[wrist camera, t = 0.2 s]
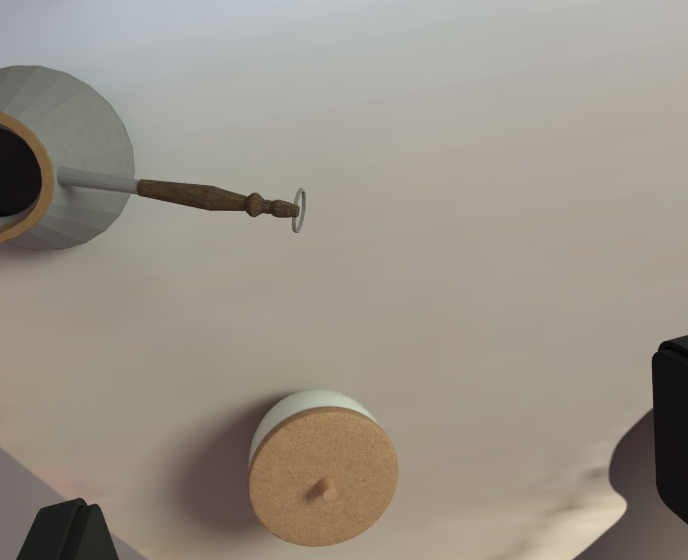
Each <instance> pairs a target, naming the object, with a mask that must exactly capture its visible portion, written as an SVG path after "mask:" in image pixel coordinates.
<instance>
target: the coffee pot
mask: <svg viewBox="0 0 688 560" xmlns="http://www.w3.org/2000/svg"><path fill="white" fill-rule="evenodd" d="M134 174H135V167H134V156H133V147H132V145H131V142H130V139H129V136H128V134H127V131H126V128H125V125H124V124H123V122H122V121H121V119H120V118H119V116H118V115H117V113H116V112H115V111H114V109H113V108H112V106H111V105H110V103H109V102H107V101H106V100H105V99H104V98H103V97H102V96H101V95H100V94H99V93H97V92H96V91H95V90H94V89H93V88H92V87H91V86H90V85H88V84H86V83H84V82H82V81H80V80H78V79H77V78H75V77H73V76H71V75H69V74H67V73H65V72H61V71H57V70H54V69H50V68H46V67H42V66H10V67H6V68H2V69H0V243H3V242H6V243H8V244H10V245H12V246H17V247H22V248H27V249H32V250H60V249H66V248H69V247H73V246H76V245H80V244H83V243H86V242H88V241H89V240H91V239H93V238H94V237H96V236H97V235H99V234H101V233H102V232H104V231H106V229H107V228H108V227H109V226H110V225H111V224H112V223H113V222H114V221H115V220H116V219H117V218H118V216H119V215H120V214H121V212H122V210H123V208H124V206H125V205H126V203H127V201H128V199H129V197H130V195H131V194H138V195H139V196H143V197H148V198H152V199H157V200H162V201H167V202H171V203H176V204H181V205H186V206H190V207H195V208H200V209H205V210H209V211H246V212H247V213H248V214H249V215H250V216H251V217H256V216H258V215H260V214H262V213H266V214H272V215H273V216H275V217H281V218H290V217H292V228H293V231H294V232H295V233H299V231H300V230H301V227H302V224H303V220H304V215H305V209H306V194H305V190H304V189H301V188H300V189H299V190H298V191H297V194H296V197H295V201H294V205H293V204H292V203H289V202H286V201H282V200H275V201H270V200H264V199H263V198H262V197H261V196H260V195H259V194H258V193H252V194H251V195H249V196H248V197H247V196H244V195H240V194H237V193H234V192H230V191H227V190H223V189H220V188H217V187H214V186H208V185H197V184H186V183H176V182H165V181H154V180H144V179H141V180H135V179H134ZM301 192H302V212H301V217H300V221H299V225H298V228H297V229H296V217H298V215H299V206H297V205H298V200H299V197H300V194H301Z"/></svg>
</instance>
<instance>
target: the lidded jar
mask: <svg viewBox="0 0 688 560" xmlns="http://www.w3.org/2000/svg"><path fill="white" fill-rule="evenodd" d="M248 471H249V472H248V494H249V499H250V503H251V507H252V509H253V511H254V513H255V515H256V517H257V518H258V520H259V521H260V522H261V524H262V525H263V526H264V527H265V528H266V529H267V530H268V531H269V532H271V533H272V534H274V535H275V536H277V537H278V538H280V539H283V540H285V541H287V542H290V543H293V544H297V545H302V546H309V547H317V546H328V545H334V544H337V543H341V542H344V541H346V540H349V539H351V538H354V537H355V536H357V535H359V534H360V533H362V532H364V531H365V530H366V529H368V528H369V527H370V526H371V525H373V524H374V523H375V522H376V521H377V520H378V519H379V517H380V516H381V515H382V514H383V512H384V511H385V510H386V508H387V507H388V505H389V503H390V502H391V500H392V498H393V495H394V492H395V490H396V486H397V481H398V461H397V456H396V453H395V450H394V447H393V445H392V443H391V442H390V440H389V438H388V436H387V435H386V433H385V432H384V431H383V430H382V428H381V427H380V425H379V423H378V422H377V420H376V419H375V418H374V417H373V416H372V414H371V413H370V412H369V411H368V410H367V409H366V408H365V407H364V406H363V405H361V404H360V403H359V402H358V401H356V400H355V399H353V398H351V397H350V396H348V395H346V394H343V393H341V392H338V391H334V390H329V389H307V390H303V391H299V392H296V393H294V394H291V395H289V396H287V397H286V398H284V399H282V400H281V401H279V402H278V403H277V404H276V405H274V406H273V407H272V408H271V409H270V410H269V412H268V413H267V414H266V415H265V416H264V418H263V419H262V420H261V422H260V423H259V425H258V428H257V430H256V432H255V434H254V437H253V440H252V444H251V448H250V454H249V463H248Z"/></svg>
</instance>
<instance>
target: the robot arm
mask: <svg viewBox="0 0 688 560" xmlns="http://www.w3.org/2000/svg"><path fill="white" fill-rule="evenodd" d="M652 383H653V410H654V436H655V463H656V485H657V490H658V493H659V495H660V497H661V499H662V500H663V502H664V503H665V505H666V506H668V508H669V509H671V510H672V511H673V512H674V513H675V514H677V516H678V517H680V518H681V519H682V520H683V521H684V522H686V523H687V524H688V335H686V336H683V337H679V338H675V339H671V340H668V341H664V342H663V343H661V344H660V346H659V348H658V352H656V353H655V354H654V355H653V357H652ZM16 560H119V558H118V556H117V553H116V550H115V547H114V544H113V542H112V539H111V536H110V533H109V530H108V527H107V524H106V522H105V519H104V516H103V513H102V511H101V508H100V507H99V505H98V504H92V505H89V506H88V505H87V503H86V502H85V501H84V499H82V498H77V499H74V500H70V501H66V502H62V503H59V504H55V505H51V506H47V507H44V508H42V509H40V511H39V512H38V513H37V516H36V518H35V520H34V523H33V524H32V526H31V529H30V531H29V533H28V535H27V538H26V540H25V542H24V544H23V546H22V548H21V550H20V553H19V555H18V557H17V559H16Z"/></svg>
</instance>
